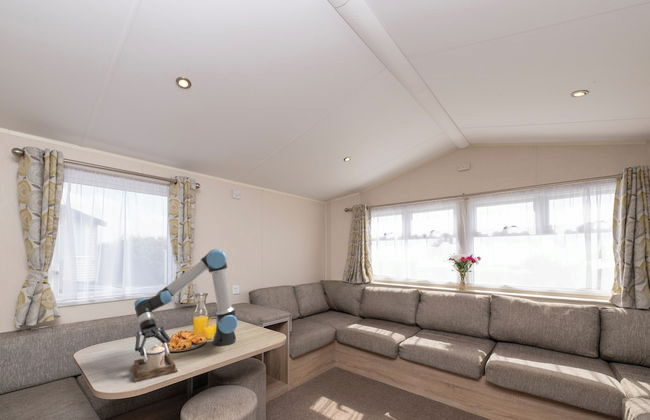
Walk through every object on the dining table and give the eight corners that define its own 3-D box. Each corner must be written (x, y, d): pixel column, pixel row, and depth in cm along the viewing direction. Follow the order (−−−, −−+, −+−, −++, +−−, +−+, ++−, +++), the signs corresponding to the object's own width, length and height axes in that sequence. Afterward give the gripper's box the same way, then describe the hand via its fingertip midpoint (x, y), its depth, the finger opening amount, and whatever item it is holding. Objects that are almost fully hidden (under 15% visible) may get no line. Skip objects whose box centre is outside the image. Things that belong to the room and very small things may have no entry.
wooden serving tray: (169, 359, 173) (170, 352, 173) (177, 372, 155) (177, 364, 156) (131, 367, 161) (132, 360, 162) (135, 382, 144) (135, 374, 144)
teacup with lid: (164, 369, 155) (165, 346, 157) (144, 372, 151) (145, 349, 152) (164, 360, 166) (165, 339, 167) (146, 364, 162) (147, 342, 163)
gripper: (165, 322, 179) (176, 355, 167) (122, 331, 161) (131, 368, 150) (169, 314, 176) (181, 347, 165) (126, 322, 158) (135, 360, 147)
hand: (157, 357), depth 157 cm, fingers open, 10 cm apart
